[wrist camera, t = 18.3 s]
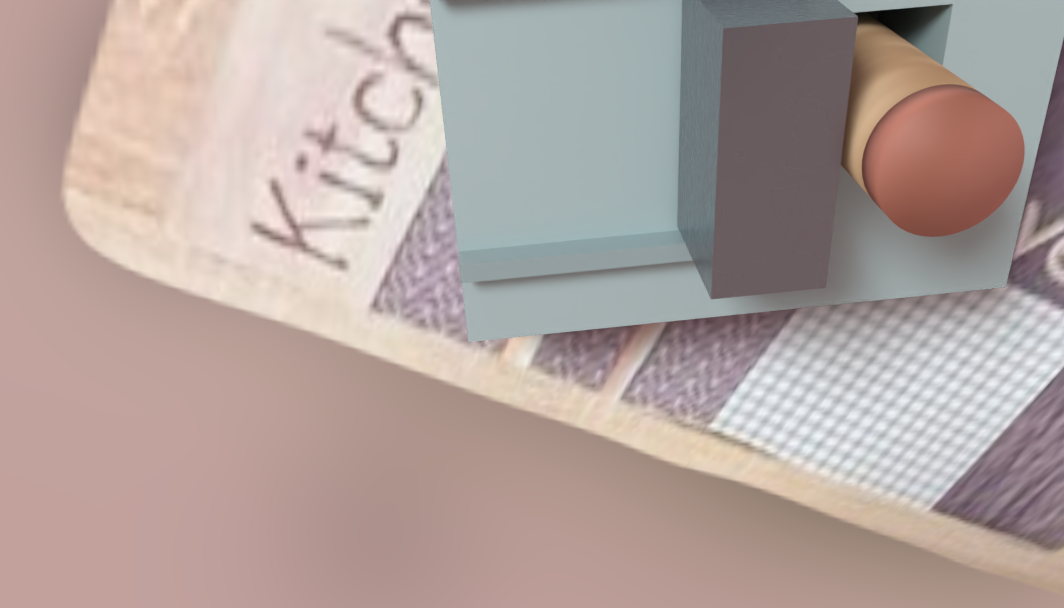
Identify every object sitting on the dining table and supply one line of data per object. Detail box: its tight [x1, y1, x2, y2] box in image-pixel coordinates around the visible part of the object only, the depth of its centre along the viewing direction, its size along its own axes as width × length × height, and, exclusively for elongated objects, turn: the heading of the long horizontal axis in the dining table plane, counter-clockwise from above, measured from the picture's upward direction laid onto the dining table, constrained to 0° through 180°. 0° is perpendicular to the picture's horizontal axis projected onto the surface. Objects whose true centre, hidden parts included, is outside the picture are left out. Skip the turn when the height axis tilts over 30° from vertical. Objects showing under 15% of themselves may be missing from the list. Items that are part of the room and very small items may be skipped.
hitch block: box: [430, 0, 1064, 342], centre depth 29 cm, size 17×14×6 cm
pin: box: [841, 12, 1025, 237], centre depth 27 cm, size 3×3×10 cm
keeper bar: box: [677, 0, 858, 299], centre depth 25 cm, size 3×7×4 cm, turn 4°
